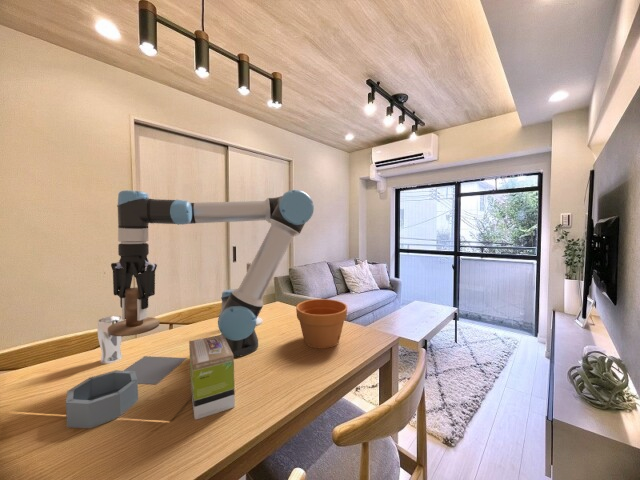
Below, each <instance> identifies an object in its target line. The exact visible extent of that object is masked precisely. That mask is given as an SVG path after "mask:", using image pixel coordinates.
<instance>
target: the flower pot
mask: <svg viewBox="0 0 640 480" xmlns="http://www.w3.org/2000/svg"><path fill="white" fill-rule="evenodd" d="M295 307H296V308H295V310H296V318H297V320H298V322H299V324H300V327H301V328H300V329H301V334H302V337H303V341H304V342H305V344H306V345H308V346H309V347H311V348H314V349H316V348H317V349H329V348H332V347H335V346H337V345H338V344H339V342H340V339H341V335H342V331H343V326H344V324H345V323H344V322H345V320H347V317H348V316H347V315H348V306H347V304H346V303H344V302H343V301H340V300H336V299H328V298H316V299H315V298H314V299H307V300H304V301H301V302H299V303H298V304H297V305H296V306H295Z"/></svg>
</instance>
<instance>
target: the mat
mask: <svg viewBox="0 0 640 480" xmlns="http://www.w3.org/2000/svg"><path fill="white" fill-rule="evenodd" d="M187 359H188V357H172V356H171V357H169V356H150V355H149V356H147V355H145V356H143V357H141V358H140V359H138V360H137V361H135V362H133V363H132V364H131V365H129V366H128V367H126V368H125V369H124V370H122V371H135V373H136V377H137V380H138V385H153V386H156V385H158V384H159V383H160V382H162V381H163V379H165V378H166V377H167V376H168V375H170V373H172V372H173V371H174V370H175V369H176V368H177V367H179V365H182V363H183V362H185V360H187Z"/></svg>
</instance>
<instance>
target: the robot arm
mask: <svg viewBox="0 0 640 480" xmlns="http://www.w3.org/2000/svg"><path fill="white" fill-rule="evenodd" d="M116 207H117V223H118V224H117V228H118V229H117V239H118V240H117V242H120V243H119V244H117V245H118V246H117V247H118V248H117V249H118V251H117V254H118V256H119V257H120V258H119V260H118V261H117V262H112V263H111V264H110V267H111V269H112V285H113V289H112V290H113V295H114V296H118V297H119V298H120V299H119V301H120V308H121V317H122V321H124V320H126V296H125V290H126V289H129V288H132V282H133V277H134V278H135V282H136V286H137V287H138V291H139V296H140V298H138V299H137V321H140V320H143V319H145V318H147V317H148V316H147V315H148V314H147V313H148V311H147V309H148V308H149V297H152V296H155V294H156V270H157V267H158V264H157V263H152V262H149V259H148V255H149V254H150V253H149V251H150V249H149V245H150V244H149V243H148V242H149V224H162V225H165V224H166V225H191V224H192V225H193V224H209V223H210V224H212V223H213V224H214V223H229V222H230V223H231V222H232V223H234V222H235V223H237V222H257V221H259V222H260V221H261V222H263V221H266V222H267V223H269V224H270V228H269V229H268V231H267V233H266V235H265V237H264V239H263V241H262V243H261V245H260V246H259V249H258V250H257V253H256V254H255V255H254V256H255V257H253V260H252V262H251V266H250V267H249V269H248V271H247V270H246V273H245V276H244V278H243V279H242V281H241V282H240V285H239V286H238V287H237V288H234V289H226V290H224V291H222V293H221V298H220V299H221V309H220V313H219V316H218V318H217V325H218V326H217V327H218V330H219V332H220V335H222V334H224V336H225V338H226V341H227V343H228V345H229V347H230V349H231V351H232V353H233V356H234V358H237V357H243V356H246V355H250V354H252V353H253V352H255V351H257V349H259V338H258V335H257V333H256V327H257V326H256V319H257V317H259V314H260V312H262V311H261V310H262V309H263V307H264V301H263V297H264V296H265V293H266V291H267V290H268V287H269V286H270V284H271V282H272V280H273V278H274V276H275V274H276V271H277V270H278V268H279V266H280V264H281V261H282V260H283V258H284V256H285V255H286V252H287V250H288V248H289V246H290V244H291V242H292V241H293V239H294V237H296V236H299V235H300V234H301V232H302V231H303V229H304V226H305V224H306V223H307V222H308V221H309V222H310V220H311V218H312V216H313V214H314V210H315V208H314V207H315V206H314V202H313V200H312V197H311V196H310V195H309V194H308V193H306V192H305V191H303V190H300V189H291V190H288V191H286V192H284V194H283V195H281V196H278V197H267V198H266V199H265V200H252V201H251V200H249V201H248V200H247V201H213V202H211V201H209V202H208V201H207V202H190V201H188V200H183V199H182V200H181V199H159V198H155V199H154V198H149V194H148V193H147V192H145V191H139V190H120V191H119V192H118V197H117V205H116Z"/></svg>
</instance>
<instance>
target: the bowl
mask: <svg viewBox="0 0 640 480" xmlns="http://www.w3.org/2000/svg"><path fill="white" fill-rule="evenodd" d="M138 401H139V384H138V380H137V377H136V373H135V371H123V370H112V371H108V372H105V373H102V374H98V375H94V376H90V377H88V378H87V379H84V380H83V381H81V382H80V383H78V384H77V385H75V386H73V387H72V388H70V389H69V390H67V392H66V400H65V411H66V412H65V413H66V428H77V429H79V428H80V429H92V428H95V427H98V426H101V425H103V424H105V423H108V422H112V421H115V420H116V419H120V416H121V417H122V415H124V414H125V412H127V410H129V409H130V408H131V407H133V406H134V405H135V404H136V403H137V402H138Z"/></svg>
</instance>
